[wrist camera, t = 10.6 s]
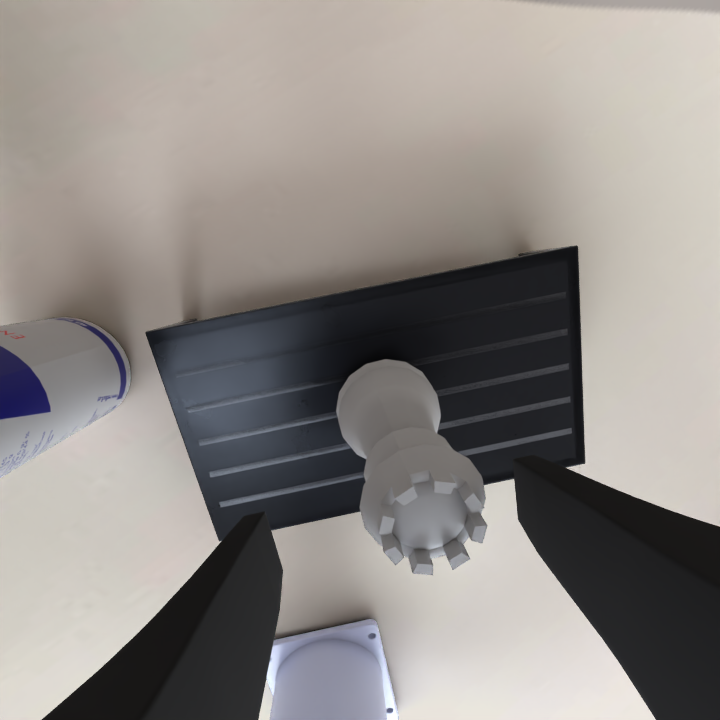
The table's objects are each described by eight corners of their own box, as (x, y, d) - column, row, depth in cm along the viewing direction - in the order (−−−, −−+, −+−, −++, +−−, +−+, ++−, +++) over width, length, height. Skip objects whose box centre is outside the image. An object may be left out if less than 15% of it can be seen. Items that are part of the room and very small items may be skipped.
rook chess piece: (319, 382, 15) (301, 492, 7) (411, 339, 15) (492, 407, 7) (360, 463, 16) (383, 634, 8) (447, 424, 16) (551, 562, 8)
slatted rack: (544, 433, 20) (585, 463, 17) (238, 497, 20) (218, 542, 17) (532, 251, 18) (578, 245, 14) (181, 321, 18) (144, 332, 14)
